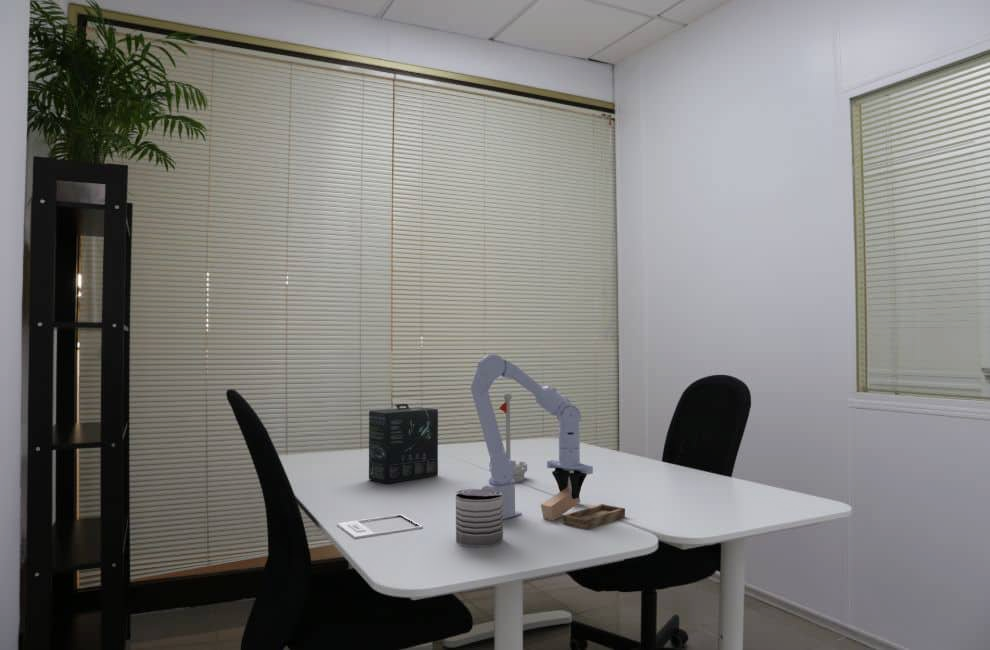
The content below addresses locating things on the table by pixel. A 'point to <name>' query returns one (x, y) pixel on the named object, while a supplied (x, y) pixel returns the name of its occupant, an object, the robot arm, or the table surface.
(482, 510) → the can
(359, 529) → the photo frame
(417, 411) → the headset box
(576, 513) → the wooden tray
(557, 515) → the block
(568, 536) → the table surface
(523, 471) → the flag stand
